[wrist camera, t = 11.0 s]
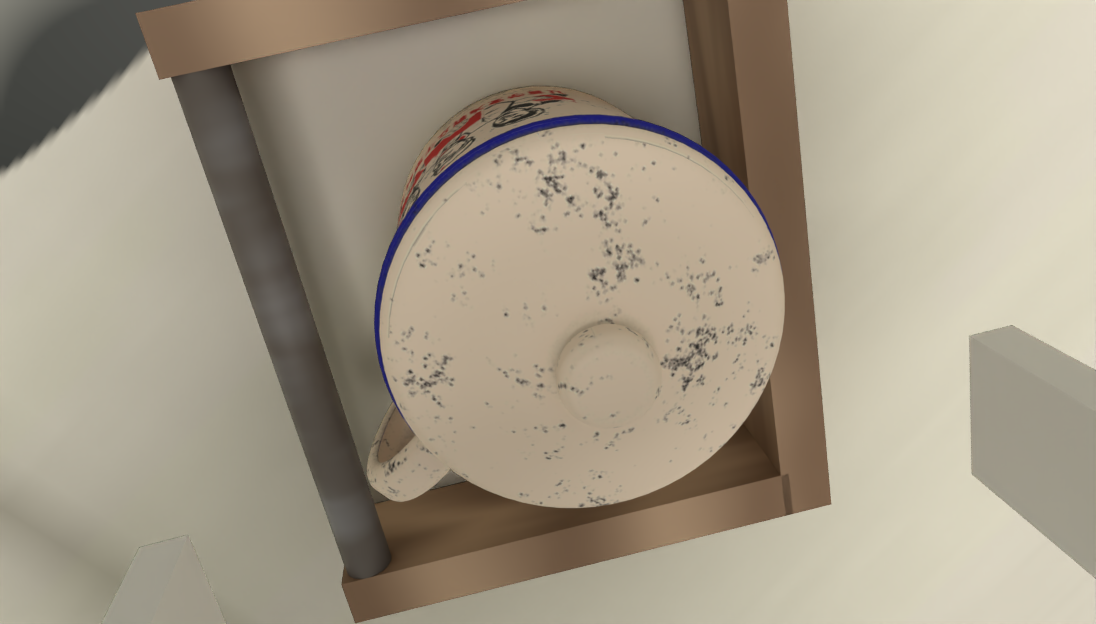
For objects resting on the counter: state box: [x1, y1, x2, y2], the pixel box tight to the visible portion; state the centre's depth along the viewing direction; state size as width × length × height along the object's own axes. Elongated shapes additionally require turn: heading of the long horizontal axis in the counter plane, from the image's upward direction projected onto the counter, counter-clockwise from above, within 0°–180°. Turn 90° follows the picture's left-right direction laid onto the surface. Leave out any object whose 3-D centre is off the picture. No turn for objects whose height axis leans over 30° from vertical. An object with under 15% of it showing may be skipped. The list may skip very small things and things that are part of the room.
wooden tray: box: [136, 0, 831, 623], centre depth 25 cm, size 15×18×4 cm
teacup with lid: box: [367, 86, 785, 508], centre depth 21 cm, size 12×9×12 cm
